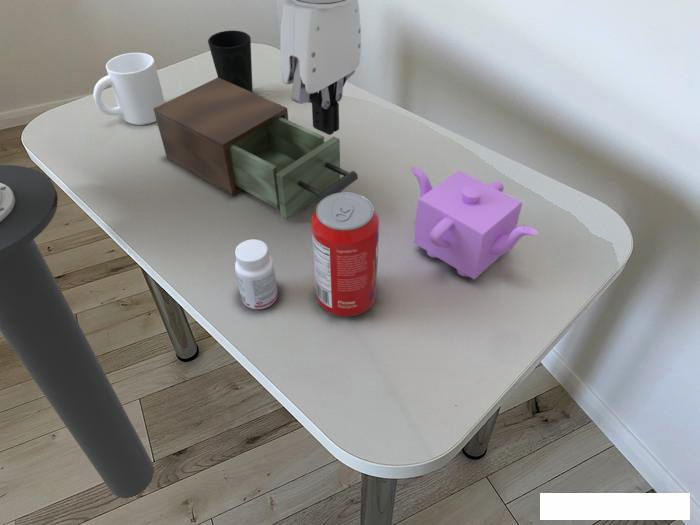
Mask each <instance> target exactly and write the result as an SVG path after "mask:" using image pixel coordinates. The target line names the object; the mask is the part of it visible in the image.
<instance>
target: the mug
mask: <svg viewBox="0 0 700 525" xmlns="http://www.w3.org/2000/svg"><path fill="white" fill-rule="evenodd" d="M105 70H106V72H107V75H105V76H102V78H100V79H99V80H98V81H97V82H96V84H95V85H94V87H93V99H94V103H95V105H96V107H97V109H98V110H99V111H101V112H102V113H103V114H105V115H108V116H119V115H121V117H122V119H123V120H124V121H125V122H126V123H129V124H131V125H136V126H144V125H149V124H153V123H157V120H156V116H155V113H154V108H156V107H158V106H160V105H162V104H164V103H166V101H165V98H164V93H163V90H162V85H161V81H160V78H159V73H158V70H157V65H156V62H155V58H154V57H153V56H152V55H150V54H149V53H145V52H128V53H122V54H119V55H117V56H114V57H113V58H111V59H109V60H108V61H107V62H106V64H105ZM110 85H111V88H112V91H113V94H114V98H115V100H116V103H117V106H115V107H109V106H107V105H106V104H105V103H104V101H103V97H102V96H103V95H102V94H103V91H104V89H105V88H106V87H108V86H110Z"/></svg>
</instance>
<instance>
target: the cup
mask: <svg viewBox="0 0 700 525" xmlns="http://www.w3.org/2000/svg"><path fill="white" fill-rule="evenodd" d="M251 39H252V38H251V35H249V33H246V32H244V31H241V30H224V31H220V32H216V33H214V34H212V35H210V36H209V37H208V39H207V43H208V47H209V51H210V54H211V58H212V61H213V65H214V69H215V72H216V75H217V78H221V79H223V80H225V81H227V82H230V83H232V84H234V85H236V86H239V87H241V88H243V89H245V90H248V91H250V92H252V93H254V92H253V66H252V65H253V64H252V40H251Z"/></svg>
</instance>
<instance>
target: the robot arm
mask: <svg viewBox="0 0 700 525" xmlns="http://www.w3.org/2000/svg"><path fill="white" fill-rule="evenodd" d="M359 4H360V3H359V0H283V4H282V10H281V20H280V36H279V38H280V41H279V42H280V44H279V46H280V47H279V48H280V70H281V79H282V82H283V83H284V85H292V89H291V101H292V102H295V103H298V104H300V105H302V104H307V103H310V104H311V112H312V113H311V114H312V127H313V128H314V129H315V130H317V131H320V132H321V133H324V134H327V135H329V136H331V135H333V134H334V133H335V132H338V131H339V130H340V104H339V102H341V100H342V99H343V93H344V92H343V91H344V86H345V85H346V82H347V81H348V80H349V79H350V78H351V77H352V76H353V75H354V74H355V72H356V70H357V68H358V67H359V66H360V62H361V56H362V55H361V54H362V30H361V29H362V27H361V15H360V14H361V13H360V5H359ZM14 205H15V196H14V194H13V192H12V190H11V189H10V188H9V187H8V186H6V185H5V184H2V183H0V222H1V221H2V220H3V219H4V218H6V217H7V216H8V214H9V213H10V212H11V211H12V209H13V207H14Z"/></svg>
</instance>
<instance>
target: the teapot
mask: <svg viewBox="0 0 700 525" xmlns="http://www.w3.org/2000/svg"><path fill="white" fill-rule="evenodd" d="M410 171H411V173H412V174H413V175H414V176H415V177H416V179H417V181H418V185H419V193H420V194H419V198H418V199H417V205H416V216H415V219H416V220H415V225H414V226H415V228H414V238H413V243H414V244H415V245H416V246H418V247H420V248H421V249H423V250H425V251H426V254H427V256H429V257H431V258H437V259H439V260H441V261H443V262H444V263H446V264H448V265H449V266H450V267H452V268H454V269H456V272H457V274H458V275H460V276H461V277H469V278H470V279H472V280H476V278H478V277H479V276H480V275H481V274H482V273H483V272H485V271H486V270H487V269H488V268H489V267H490V266H492V264H493V263H495V262H496V261H497V260H498V259H500V257H501V256H503V255H504V254H507V253H508V252H510V251H511V250H512V249H513V248H514V247H515V245H516V244H517V243H518V241H520V240H521V238H522V237H525V236H538V235H539V232H538V231H537V230H536V229H535V228H533V227H531V226H528V225H518V221H519V218H520V214H521V210H522V206H523V202H522V201H520V200H519V199H516V198H514V197H513V196H511V195H510V194H507V193H505V192H504V188H505V187H504V184H503V183H502V182H500V181H494V182H491V183H489V184H487V183H485V182H483V181H481V180H479V179H477V178H475V177H473V176H471V175H469V174H467V173H465V172H463V171H461V170H457V171H456V172H454V173H452V175H450V176H449V177H447V178H445V179H444V180H443V181H441V182H440V183H439V184H437V185H436V186H434V187H433V186H432V184H431V182H430V181H431V180H430V179H429V177H428V176H427V174H426V173H425V172H424V171H423V170H422V169H420V168H418V167H413V166H412V167H410ZM517 225H518V226H517Z"/></svg>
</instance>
